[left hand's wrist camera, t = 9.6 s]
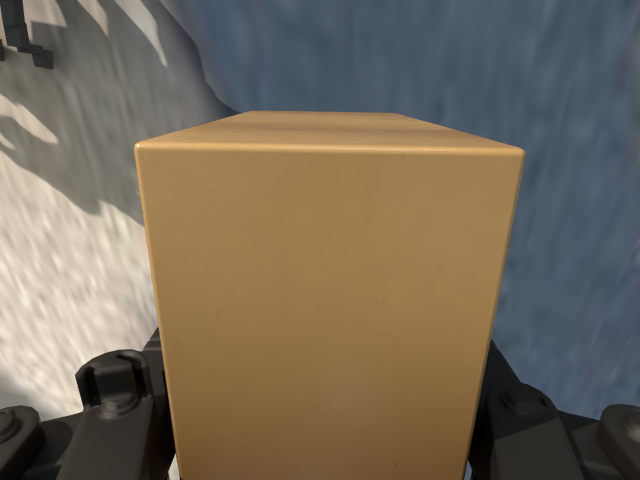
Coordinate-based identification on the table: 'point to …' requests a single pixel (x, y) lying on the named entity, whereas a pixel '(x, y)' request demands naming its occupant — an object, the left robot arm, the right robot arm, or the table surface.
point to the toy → (21, 34)
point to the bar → (325, 291)
